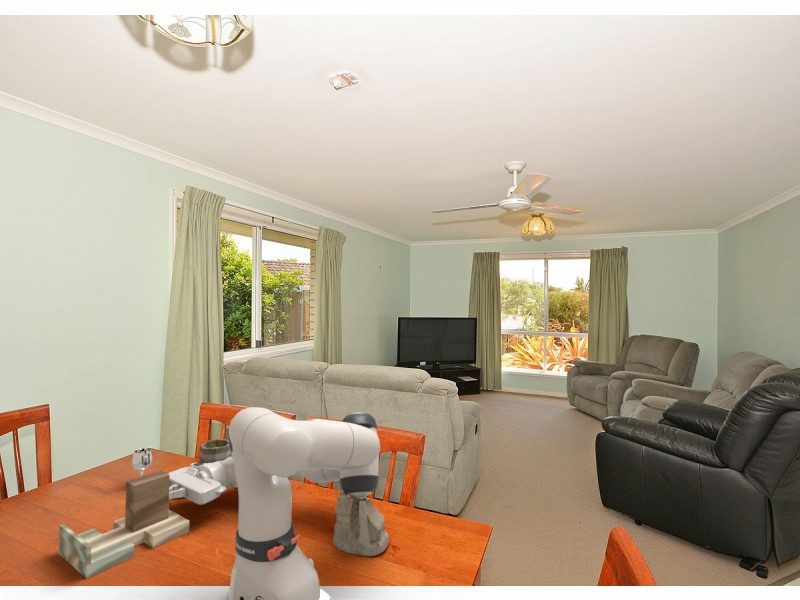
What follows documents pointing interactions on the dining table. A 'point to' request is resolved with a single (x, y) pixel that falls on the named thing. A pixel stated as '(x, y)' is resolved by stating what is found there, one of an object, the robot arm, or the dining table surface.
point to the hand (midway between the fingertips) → (164, 495)
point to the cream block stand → (115, 543)
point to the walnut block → (147, 500)
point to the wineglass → (142, 459)
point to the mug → (214, 451)
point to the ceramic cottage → (359, 526)
